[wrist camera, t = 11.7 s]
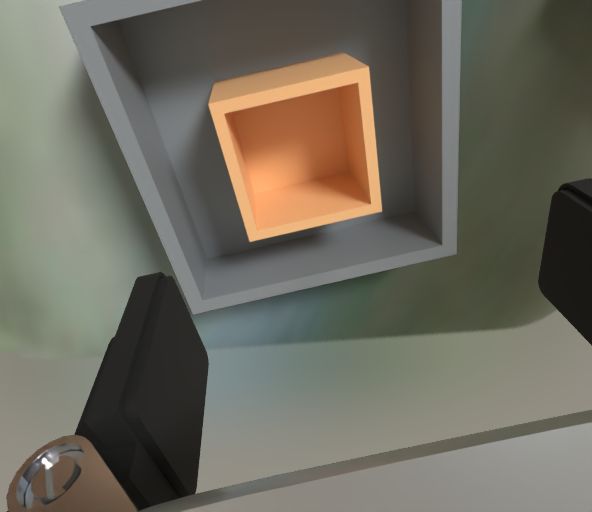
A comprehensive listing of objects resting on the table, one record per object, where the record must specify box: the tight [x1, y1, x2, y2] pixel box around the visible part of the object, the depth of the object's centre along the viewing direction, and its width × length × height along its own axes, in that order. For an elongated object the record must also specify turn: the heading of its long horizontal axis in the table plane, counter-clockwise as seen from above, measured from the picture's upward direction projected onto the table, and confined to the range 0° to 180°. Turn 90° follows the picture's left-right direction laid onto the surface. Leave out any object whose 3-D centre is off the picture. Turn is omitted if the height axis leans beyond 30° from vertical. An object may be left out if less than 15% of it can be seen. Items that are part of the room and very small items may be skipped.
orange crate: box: [208, 52, 382, 242], centre depth 21 cm, size 7×7×5 cm
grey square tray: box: [59, 0, 462, 314], centre depth 21 cm, size 15×15×5 cm
